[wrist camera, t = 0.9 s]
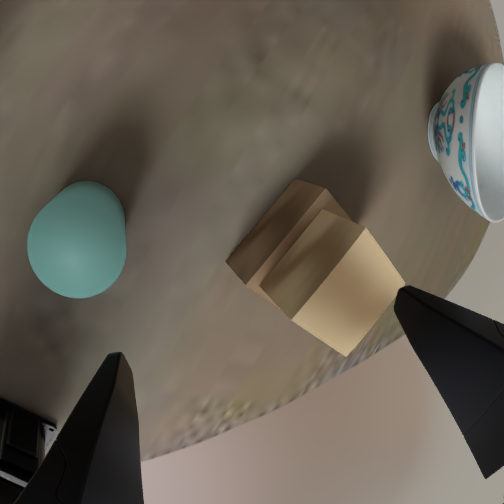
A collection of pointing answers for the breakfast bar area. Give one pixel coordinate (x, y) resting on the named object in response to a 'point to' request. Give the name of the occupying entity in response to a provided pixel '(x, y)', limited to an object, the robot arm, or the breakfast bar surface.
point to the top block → (334, 281)
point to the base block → (280, 232)
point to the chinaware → (473, 138)
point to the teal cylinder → (79, 240)
